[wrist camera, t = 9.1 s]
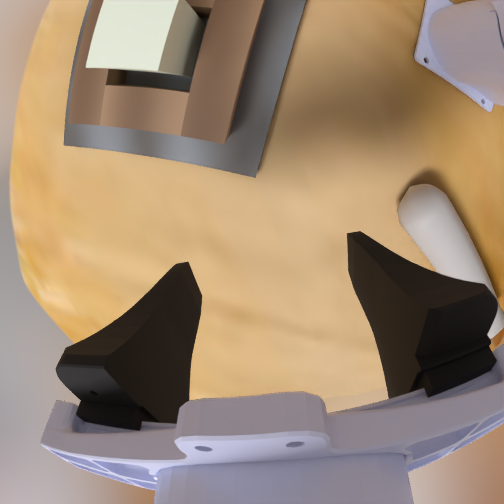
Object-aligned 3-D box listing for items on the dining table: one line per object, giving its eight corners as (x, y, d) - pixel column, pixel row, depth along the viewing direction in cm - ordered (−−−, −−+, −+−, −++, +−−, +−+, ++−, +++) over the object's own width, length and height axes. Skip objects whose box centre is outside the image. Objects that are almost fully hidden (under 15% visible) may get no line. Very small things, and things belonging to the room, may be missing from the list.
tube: (390, 233, 19) (475, 345, 27) (448, 196, 16) (508, 330, 24) (382, 193, 23) (469, 313, 31) (428, 160, 19) (499, 297, 27)
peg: (205, 25, 14) (180, -6, 8) (191, 77, 16) (157, 70, 10) (151, 20, 14) (105, -4, 8) (137, 70, 16) (85, 67, 10)
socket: (310, -17, 13) (321, -37, 9) (255, 173, 21) (255, 191, 18) (107, -31, 11) (84, -45, 7) (70, 142, 19) (42, 155, 16)
